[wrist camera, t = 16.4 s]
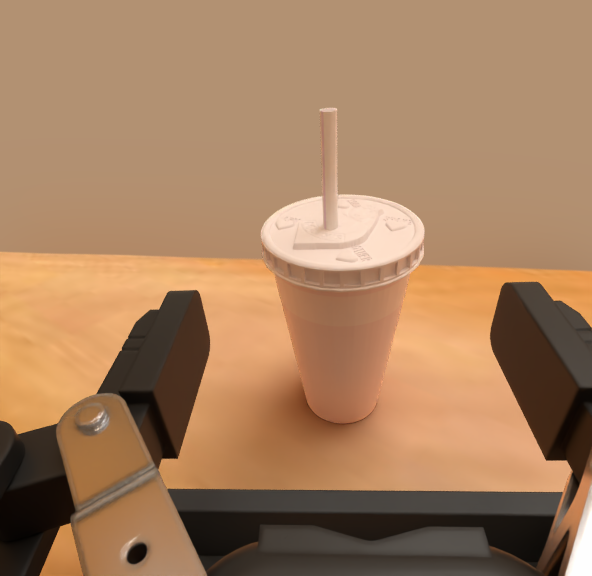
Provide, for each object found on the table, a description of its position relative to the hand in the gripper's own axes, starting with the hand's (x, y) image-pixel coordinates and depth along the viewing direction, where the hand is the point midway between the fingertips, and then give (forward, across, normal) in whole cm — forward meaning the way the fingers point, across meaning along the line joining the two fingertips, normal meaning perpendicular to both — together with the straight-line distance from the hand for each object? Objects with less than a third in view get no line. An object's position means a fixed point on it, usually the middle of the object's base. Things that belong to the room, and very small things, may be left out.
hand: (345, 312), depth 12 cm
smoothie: (+6, 0, +10) cm, 12 cm away
